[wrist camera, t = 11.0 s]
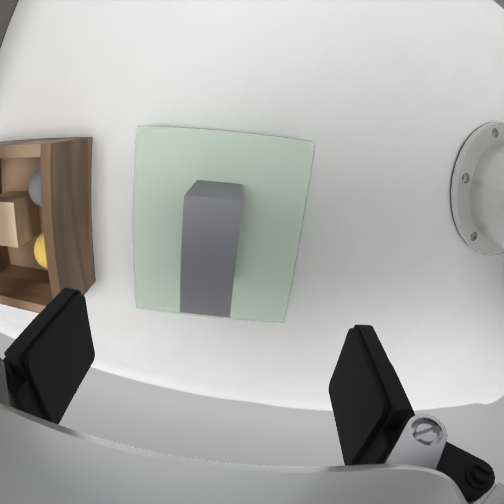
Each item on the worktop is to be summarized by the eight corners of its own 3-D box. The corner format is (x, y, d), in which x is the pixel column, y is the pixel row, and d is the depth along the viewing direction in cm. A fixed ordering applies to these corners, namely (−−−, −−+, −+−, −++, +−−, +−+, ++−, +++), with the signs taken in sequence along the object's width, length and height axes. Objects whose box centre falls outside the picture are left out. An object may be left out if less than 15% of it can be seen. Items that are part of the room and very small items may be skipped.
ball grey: (72, 164, 21) (52, 170, 18) (72, 202, 22) (53, 213, 19) (42, 164, 21) (20, 170, 18) (42, 201, 22) (22, 211, 19)
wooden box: (92, 137, 21) (50, 143, 15) (95, 281, 25) (65, 318, 20) (0, 141, 20) (-45, 151, 15) (10, 267, 25) (-25, 296, 19)
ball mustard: (73, 227, 23) (55, 240, 20) (76, 261, 24) (59, 278, 21) (44, 224, 22) (25, 236, 20) (47, 258, 23) (30, 272, 21)
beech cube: (38, 191, 21) (13, 202, 18) (41, 232, 23) (18, 247, 19) (9, 190, 21) (-16, 201, 18) (12, 229, 22) (-11, 243, 19)
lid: (309, 141, 22) (336, 147, 15) (281, 309, 27) (292, 364, 20) (145, 125, 21) (108, 127, 15) (142, 295, 26) (116, 345, 20)
